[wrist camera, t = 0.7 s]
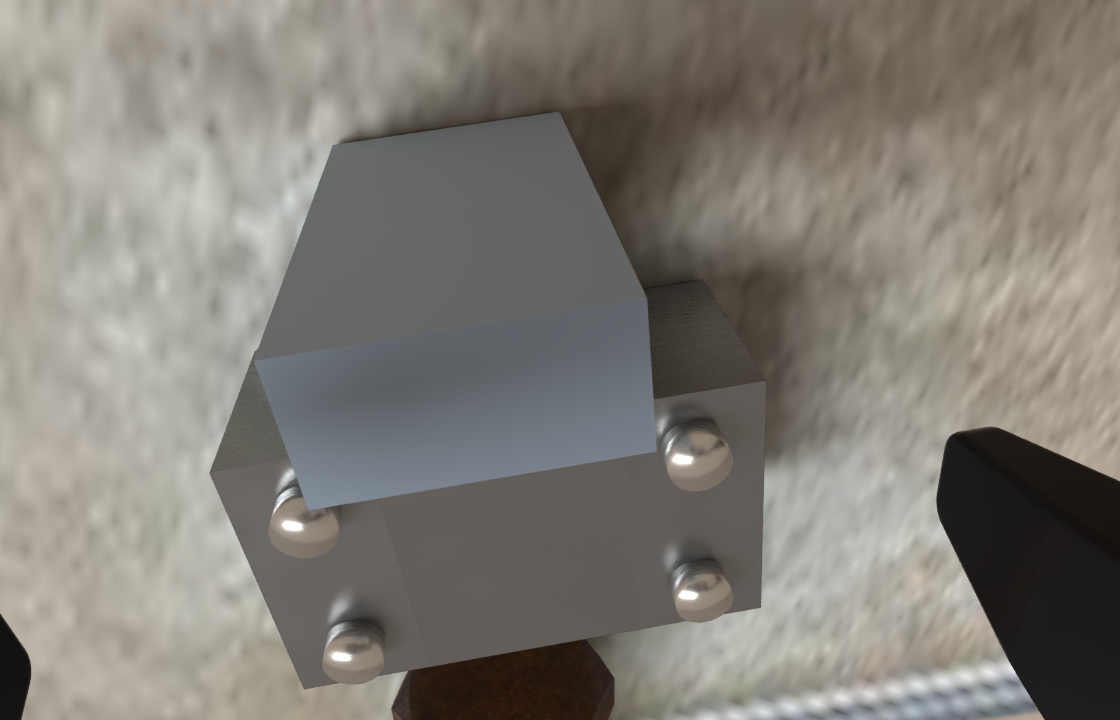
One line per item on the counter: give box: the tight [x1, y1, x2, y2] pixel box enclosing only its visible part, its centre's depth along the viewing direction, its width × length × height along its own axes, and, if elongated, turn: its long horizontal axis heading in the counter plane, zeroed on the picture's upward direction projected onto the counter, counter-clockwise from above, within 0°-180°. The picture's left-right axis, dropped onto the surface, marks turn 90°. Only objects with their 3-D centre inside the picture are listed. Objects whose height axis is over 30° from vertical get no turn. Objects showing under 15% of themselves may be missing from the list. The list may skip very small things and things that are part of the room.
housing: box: [210, 280, 766, 689], centre depth 18 cm, size 10×6×5 cm, turn 96°
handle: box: [254, 112, 657, 510], centre depth 15 cm, size 4×9×8 cm, turn 6°
